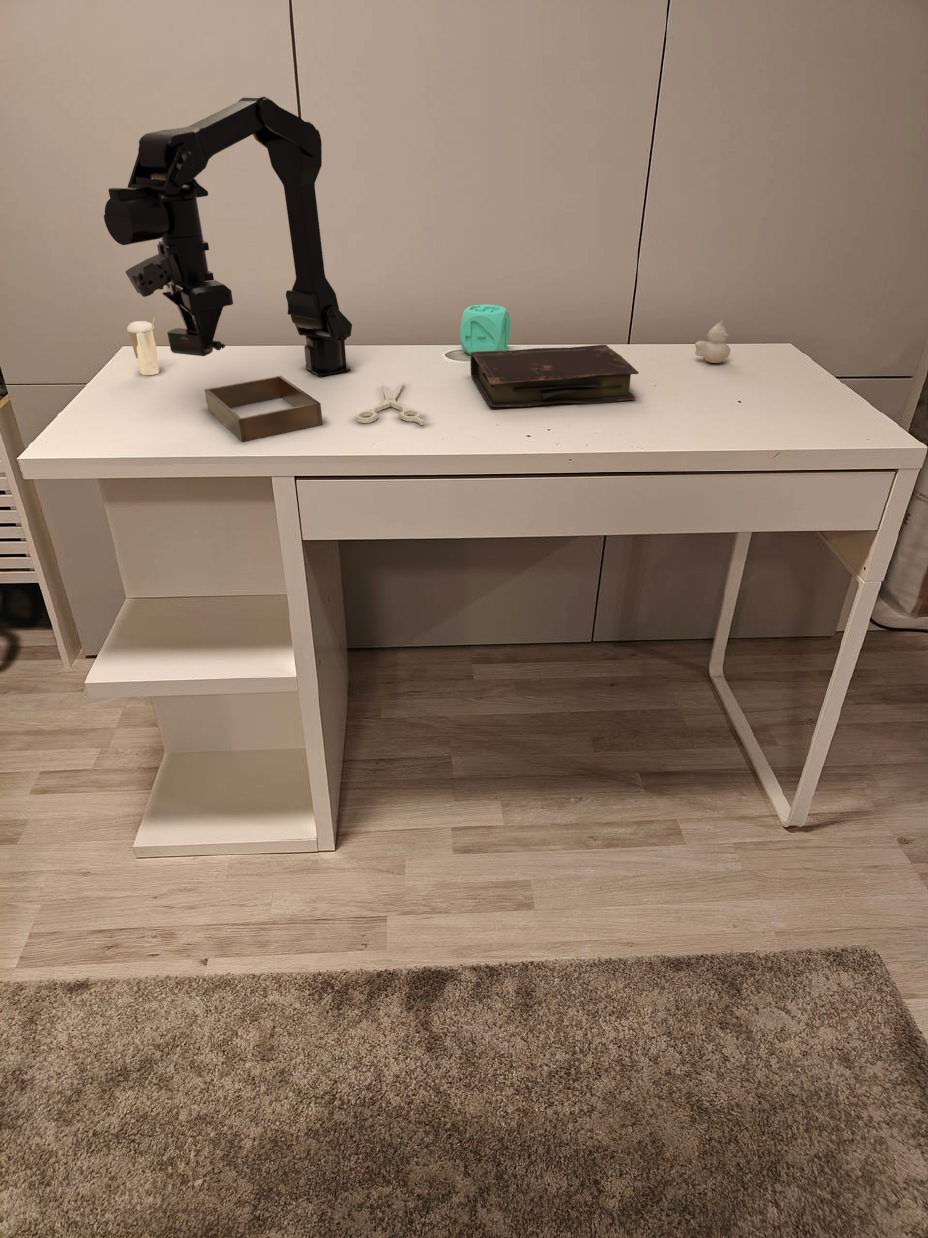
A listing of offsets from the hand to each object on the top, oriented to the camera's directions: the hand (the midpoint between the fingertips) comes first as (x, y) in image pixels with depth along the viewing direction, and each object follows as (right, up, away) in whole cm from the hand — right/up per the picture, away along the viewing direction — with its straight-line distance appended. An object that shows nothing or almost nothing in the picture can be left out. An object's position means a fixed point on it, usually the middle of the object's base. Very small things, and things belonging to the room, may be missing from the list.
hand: (201, 344), depth 127 cm
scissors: (+28, -7, +10) cm, 31 cm away
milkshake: (-17, +3, +25) cm, 30 cm away
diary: (+55, -2, +17) cm, 58 cm away
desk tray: (+8, -10, +6) cm, 14 cm away
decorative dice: (+45, +10, +36) cm, 58 cm away
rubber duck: (+87, +6, +29) cm, 92 cm away
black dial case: (-1, -1, +1) cm, 2 cm away
